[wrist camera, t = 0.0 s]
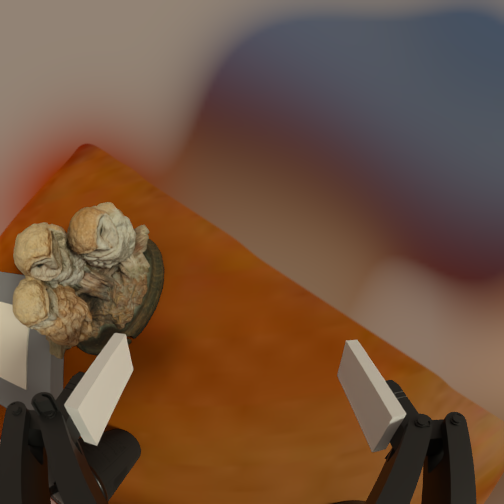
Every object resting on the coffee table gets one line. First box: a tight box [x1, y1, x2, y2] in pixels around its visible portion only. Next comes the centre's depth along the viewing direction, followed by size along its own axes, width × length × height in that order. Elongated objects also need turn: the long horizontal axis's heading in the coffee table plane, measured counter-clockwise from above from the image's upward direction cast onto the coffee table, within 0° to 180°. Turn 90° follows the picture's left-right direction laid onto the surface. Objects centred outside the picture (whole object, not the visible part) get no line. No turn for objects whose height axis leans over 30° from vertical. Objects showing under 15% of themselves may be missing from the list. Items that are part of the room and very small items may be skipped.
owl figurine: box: [12, 202, 164, 359], centre depth 23 cm, size 18×12×17 cm, turn 154°
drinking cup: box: [47, 429, 141, 504], centre depth 14 cm, size 8×8×20 cm
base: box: [0, 272, 64, 410], centre depth 25 cm, size 20×20×3 cm
